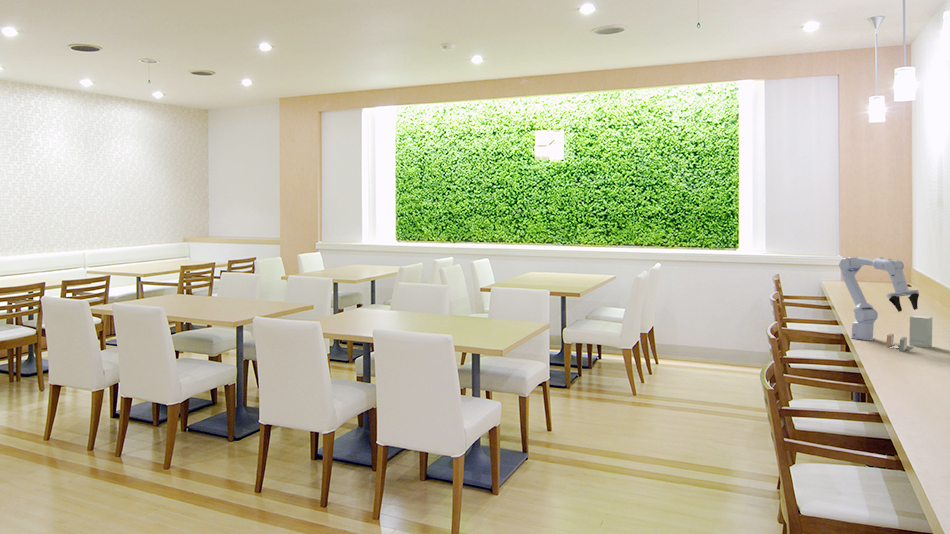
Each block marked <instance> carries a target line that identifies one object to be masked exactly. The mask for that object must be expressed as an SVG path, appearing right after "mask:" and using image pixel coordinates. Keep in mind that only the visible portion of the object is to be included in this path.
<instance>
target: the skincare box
mask: <svg viewBox="0 0 950 534" xmlns="http://www.w3.org/2000/svg"><path fill="white" fill-rule="evenodd" d="M908 342H909V343H908V344H909V346H912V345H913V346H912V347H920V348H927V349H928V348H931V346H933V317H932V316H925V315H924V316H923V315H912V316H909V341H908Z"/></svg>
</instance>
